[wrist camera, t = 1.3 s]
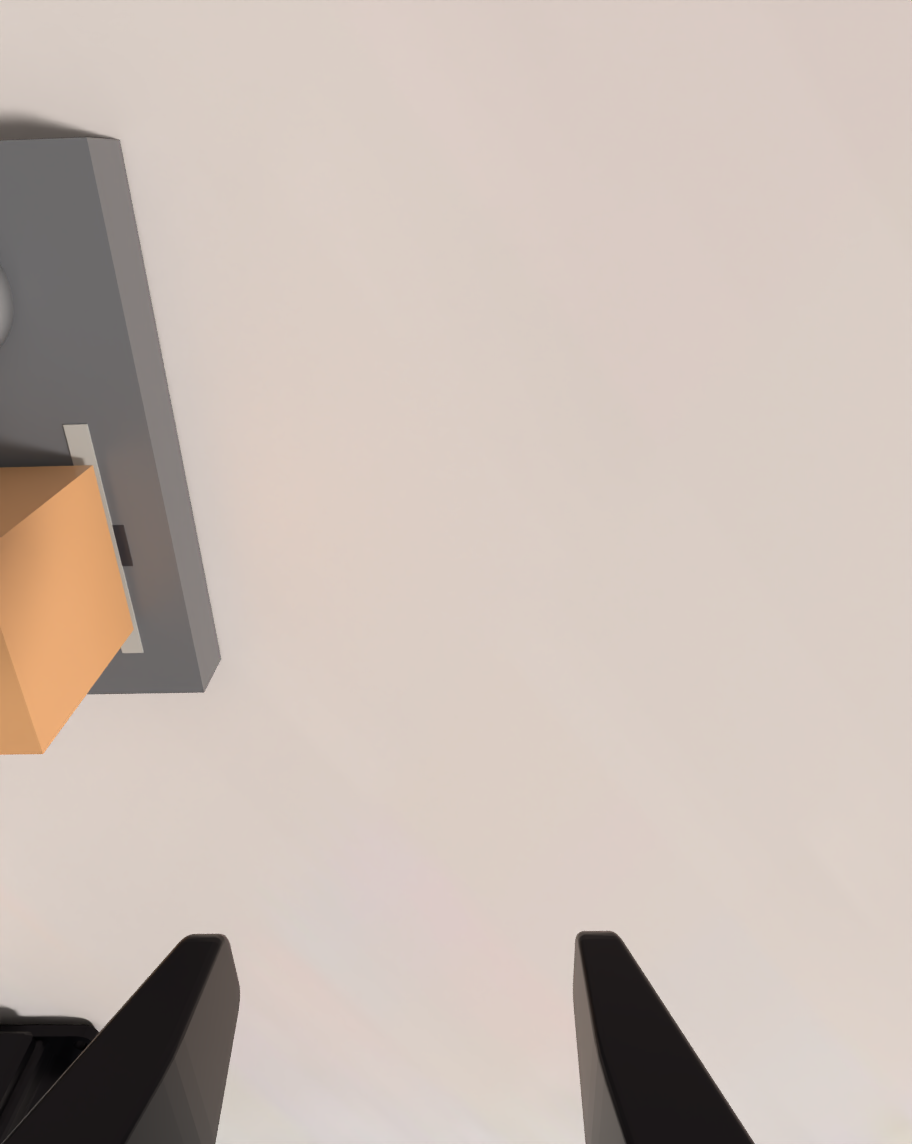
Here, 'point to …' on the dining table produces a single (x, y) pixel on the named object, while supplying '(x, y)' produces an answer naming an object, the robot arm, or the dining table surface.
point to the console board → (100, 393)
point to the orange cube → (53, 600)
